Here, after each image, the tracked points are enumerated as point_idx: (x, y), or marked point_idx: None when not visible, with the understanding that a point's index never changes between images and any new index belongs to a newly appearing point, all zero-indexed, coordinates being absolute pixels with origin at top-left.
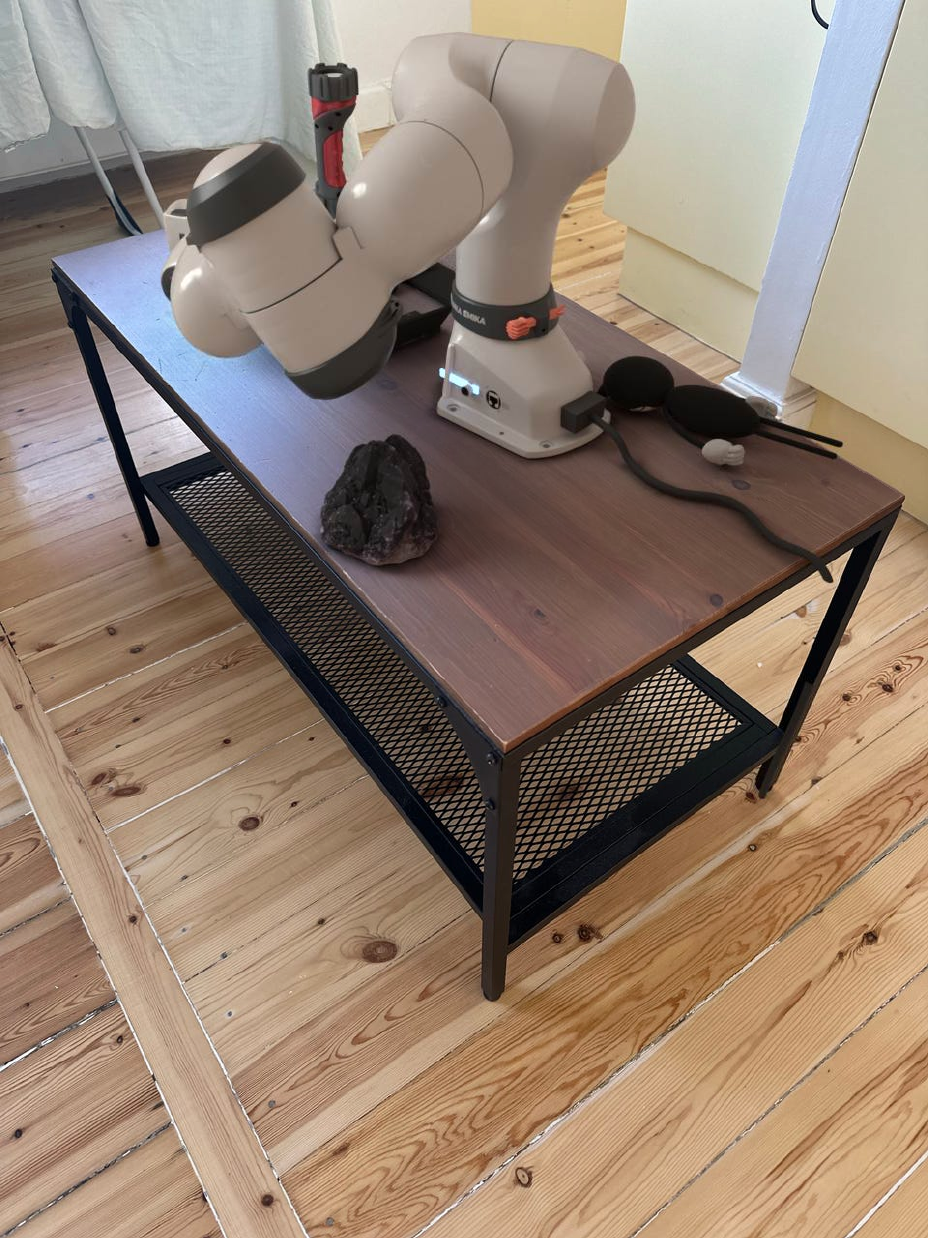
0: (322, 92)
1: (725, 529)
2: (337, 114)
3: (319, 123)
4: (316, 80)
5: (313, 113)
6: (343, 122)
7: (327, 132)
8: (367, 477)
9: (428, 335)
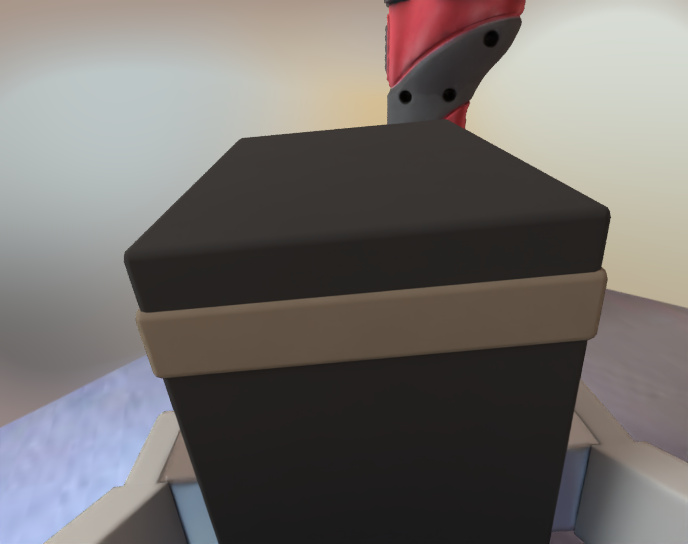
0: None
1: None
2: (485, 43)
3: (420, 84)
4: None
5: (404, 56)
6: (483, 77)
7: (439, 108)
8: None
9: None
